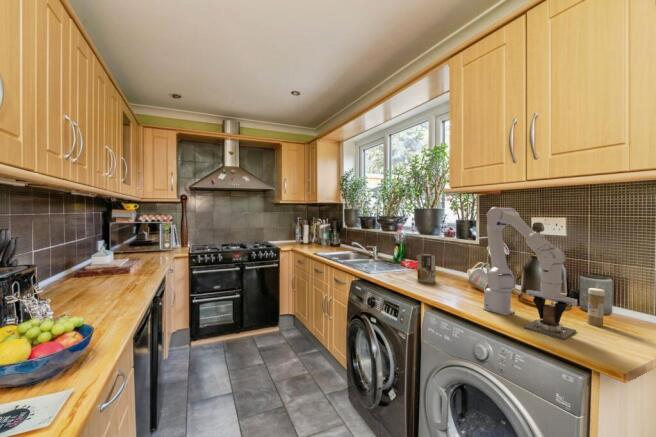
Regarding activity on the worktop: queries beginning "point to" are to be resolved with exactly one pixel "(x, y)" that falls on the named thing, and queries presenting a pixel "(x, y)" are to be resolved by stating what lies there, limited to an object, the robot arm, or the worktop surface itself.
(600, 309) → the sprinkles bottle
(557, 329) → the cup bracket
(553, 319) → the walnut peg
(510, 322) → the worktop surface
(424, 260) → the coffee box
